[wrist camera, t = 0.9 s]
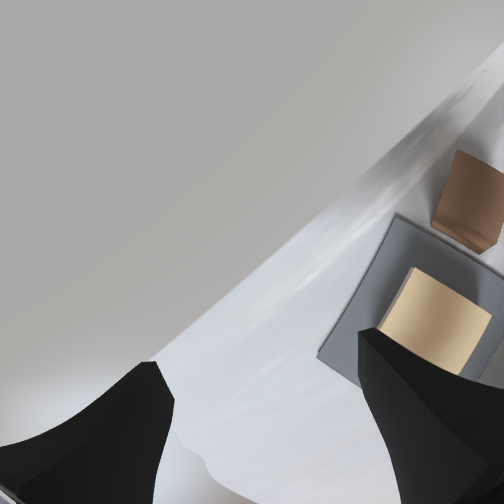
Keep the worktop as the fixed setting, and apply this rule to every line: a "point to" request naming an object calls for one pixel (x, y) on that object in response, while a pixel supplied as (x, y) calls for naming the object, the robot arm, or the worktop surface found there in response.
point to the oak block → (436, 322)
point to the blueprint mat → (392, 284)
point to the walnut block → (471, 204)
